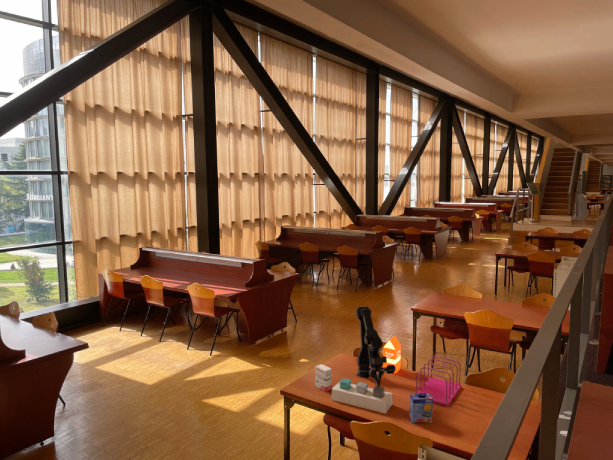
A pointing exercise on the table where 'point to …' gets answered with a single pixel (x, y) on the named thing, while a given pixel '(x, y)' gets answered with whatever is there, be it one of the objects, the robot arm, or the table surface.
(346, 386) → the teal key
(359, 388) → the slate key
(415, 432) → the table surface
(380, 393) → the charcoal key
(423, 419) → the ink cartridge box
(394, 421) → the table surface
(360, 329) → the robot arm
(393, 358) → the orange juice
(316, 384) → the ink box
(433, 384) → the file sorter
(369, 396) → the keypad
